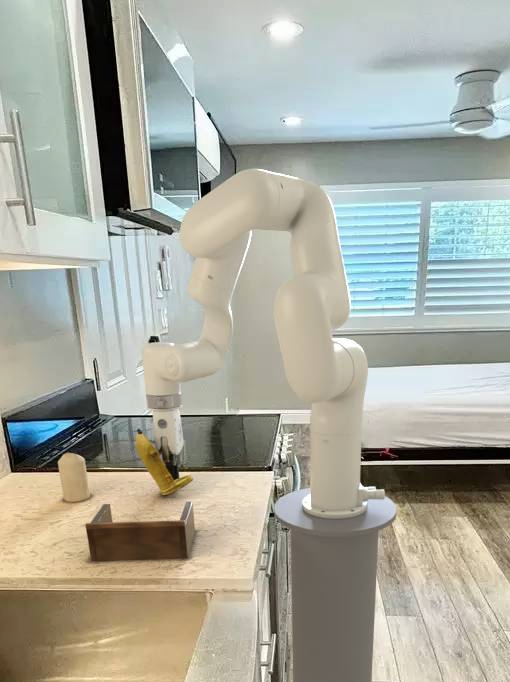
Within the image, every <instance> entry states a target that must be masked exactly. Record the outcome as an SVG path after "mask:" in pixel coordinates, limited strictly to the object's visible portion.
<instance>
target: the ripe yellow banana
mask: <svg viewBox="0 0 510 682" xmlns="http://www.w3.org/2000/svg"><path fill="white" fill-rule="evenodd" d="M136 431H137V434H136V435H135V447H136V451H137V454H138V456H139V459H141V461H142V463H143V465H144V466H145V468H146V470H147V472H148V473H149V474H150V476H151V477H152V478H153V480H154V482H155V484H156V485H157V487H158V488H159V490H160V493H161V494H162V496H169V495H171V494H173V493H175V492H177V491H179V490H181V489H182V488H184V487H186V486H188V485H189V484H190V483H191V482H193V480H194V478H193V477H192V475H191V474H188V475H184V476H182V477H179V479H176V480H173V478H172V477H171V474H169V472H168V470H167V469H166V467H165V465H164V464H163V460H162V457H161V455H159V454H158V451H157V450H156V447H155V446H154V445H153V443H152V442H151V441H150V439H149V438H148V437H147V435H145V433H143V430H141V428H137V430H136Z"/></svg>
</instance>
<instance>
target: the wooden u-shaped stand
mask: <svg viewBox="0 0 510 682" xmlns="http://www.w3.org/2000/svg"><path fill="white" fill-rule="evenodd" d="M85 530H86V531H85V532H86V538H87V544H88V550H89V556H90V561H91V562H103V561H104V562H106V561H134V560H135V561H136V560H137V561H138V560H169V559H170V560H171V559H188V558H189V555H190V552H191V547H192V544H193V541H194V537H195V533H196V526H195V514H194V501H185V504H184V507H183V510H182V512H181V516H180V519H179V520H178V519H176V520H175V519H174V520H146V521H144V520H143V521H113V514H112V509H111V504H110V503H103V504H102V506H101V507H100V508H99V510H98V512H97V513H96V514H95V516H94V517H93V518H92V520H91V521H90V522H86V523H85Z"/></svg>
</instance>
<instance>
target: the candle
mask: <svg viewBox="0 0 510 682" xmlns="http://www.w3.org/2000/svg"><path fill="white" fill-rule="evenodd" d="M57 466H58V472H59V477H60V483H61V489H62V495H63V499H64V501H65V502H71V503H74V502H83V501H86V500H88V499H89V498H90V497H91V491H90V485H89V478H88V471H87V465H86V459H85V458H84V457H83V456H81V455H79V454H76V453H72V452H66V453H64V454H62V456H61V457H60V458H59V459H58V461H57Z"/></svg>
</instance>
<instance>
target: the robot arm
mask: <svg viewBox="0 0 510 682" xmlns="http://www.w3.org/2000/svg"><path fill="white" fill-rule="evenodd" d="M335 212H336V211H335V208H334V206H333V203H332V200H331V198H330V196H329V195H328V194H327V192H326V191H325V190H324V189H323V188H322V187H321V186H319V185H318V184H316V183H314V182H312V181H309V180H306V179H303V178H298V177H294V176H292V175H291V176H290V175H286V174H283V173H277V172H273V171H268V170H265V169H260V168H247V169H244V170H240V171H239V172H237V173H235V174H233V175H232V176H231V177H229V178H227V179H226V180H225V181H224V182H222V183H221V184H219V185H218V186H216V187H215V188H213V189H212V190H211V191H210V192H208V193H207V194H205V195H204V196H202V197H201V198H200V199H198V200H197V201H196V202H195V203H194V204H192V206H191V207H189V208H188V209H187V211H186V212H185V214H184V215H183V217H182V219H181V223H180V228H179V238H180V239H179V240H180V243H181V245H182V247H183V249H184V250H185V252H186V253H187V254H188V255H190V256H192V257H194V258H195V260H194V264H193V267H192V270H191V274H190V277H189V281H188V284H187V292H188V294H189V296H190V298H192V299H193V300H194V301H195V302H196V303H198V304H200V305H201V306H202V308H203V312H204V322H203V327H202V329H201V333H200V336H199V339H198V340H194V341H188V342H187V341H186V342H183V343H178V344H174V343H173V342H168V341H155V342H149V343H146V344H144V345H142V346H141V347H142V348H141V358H142V369H143V376H144V377H143V379H144V388H145V397H146V406H147V407H146V408H147V410H148V411H150V412H152V423H153V436H154V447H155V449H156V450H157V451H158V454H159V455H160V456H161V460H162V462H163V464H164V465H165V467H166V469H167V470H168V472H169V474H171V477H172V478H173V480H176V479H179V478H180V468H179V462H178V455H179V454H180V453H181V451H182V450H183V447H184V445H185V444H184V442H185V441H184V433H183V427H182V419H181V418H182V417H181V412H180V409H182V408H183V400H182V399H183V398H182V388H181V386H182V385H181V383H187V382H191V381H195V380H197V379H201V378H206V377H210V376H213V375H214V374H216V373H217V372H218V371H219V370H220V369H221V368H222V366H223V364H224V362H225V360H226V358H227V354H228V351H229V349H230V346H231V344H232V340H233V333H234V326H233V325H234V324H233V323H234V322H233V313H232V310H231V301H232V297H233V294H234V292H235V290H236V289H235V288H236V286H237V282H238V279H239V276H240V274H241V270H242V268H243V264H244V261H245V258H246V256H247V252H248V249H249V246H250V242H251V237H252V231H253V230H261V231H262V230H263V231H274V232H275V231H276V232H288V233H290V234H291V237H290V248H289V251H290V253H289V254H290V261H291V265H292V270H293V276H291V277H289V278H288V279H286V280H285V281H283V283H282V284H281V285H280V286H279V288H278V290H277V292H276V295H275V297H274V303H273V321H274V327H275V330H276V335H277V336H276V337H277V340H278V344H279V345H278V347H279V351H280V354H281V360H282V364H283V369H284V373H285V378H286V380H287V383H288V385H289V387H290V390H291V391H292V392H293V394H294V395H295V396H296V397H297V398H298V399H300V400H301V401H303V402H304V403H305V402H306V403H309V404H311V407H310V418H309V427H310V428H309V480H310V481H309V488H310V495H308V496H307V497H305V498H304V499H303V501H302V508H303V510H304V511H306V512H307V513H308V514H310V515H313V516H316V517H320V518H326V519H345V518H351V517H355V516H358V515H361V514H362V513H364V512H365V511H366V510H367V501H368V499H375V500H380V499H384V498H385V496H386V493H385V489H377V488H376V486H364V485H362V483H361V469H362V466H361V464H362V460H361V459H362V437H363V435H362V434H363V433H362V432H363V414H364V403H365V402H364V401H365V393H366V389H367V384H368V383H367V382H368V375H369V364H368V363H369V362H368V359H367V356H366V353H365V352H364V350H363V348H362V346H360V345H359V344H357V342H355V341H354V340H351V339H348V338H343V337H342V338H341V337H340V338H338V337H337V338H333V332H332V331H334V330H337V329H339V328H341V327H342V326H344V325H345V324H346V322H347V321H348V320H349V317H350V315H351V309H352V305H351V303H352V302H351V295H350V290H349V284H348V279H347V272H346V268H345V263H344V256H343V253H342V248H341V243H340V235H339V230H338V224H337V217H336V213H335Z"/></svg>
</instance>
